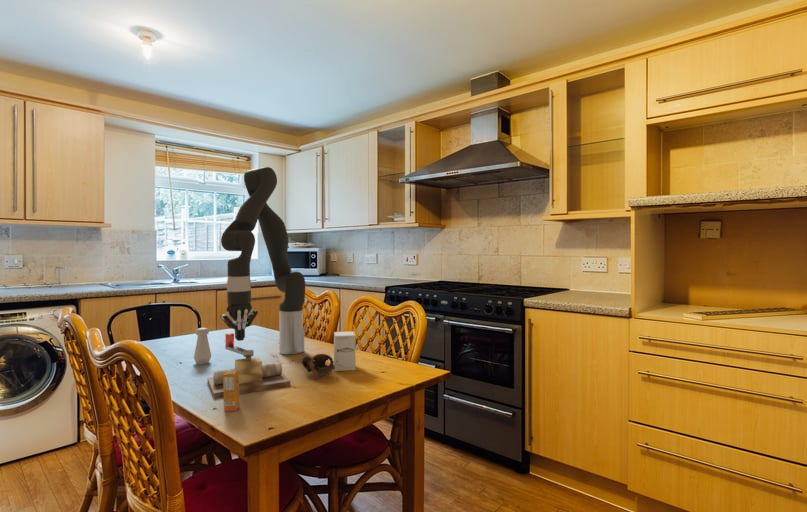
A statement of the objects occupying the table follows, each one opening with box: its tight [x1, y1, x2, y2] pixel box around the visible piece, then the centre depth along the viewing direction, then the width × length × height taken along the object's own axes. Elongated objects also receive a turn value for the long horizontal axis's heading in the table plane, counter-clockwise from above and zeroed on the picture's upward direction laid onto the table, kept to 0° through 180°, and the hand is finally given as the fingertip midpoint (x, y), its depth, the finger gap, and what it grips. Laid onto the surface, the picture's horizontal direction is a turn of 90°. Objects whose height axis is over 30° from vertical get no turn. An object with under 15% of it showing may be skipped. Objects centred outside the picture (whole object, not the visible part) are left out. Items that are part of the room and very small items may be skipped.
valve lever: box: [224, 332, 255, 358], centre depth 138 cm, size 15×3×5 cm, turn 49°
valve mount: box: [206, 356, 291, 399], centre depth 134 cm, size 22×16×9 cm
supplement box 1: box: [223, 371, 241, 412], centre depth 113 cm, size 3×4×10 cm
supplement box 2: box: [333, 331, 357, 372], centre depth 152 cm, size 7×7×13 cm
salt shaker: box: [193, 327, 212, 365], centre depth 157 cm, size 6×6×13 cm
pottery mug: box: [301, 353, 335, 381], centre depth 143 cm, size 12×10×8 cm
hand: (239, 340), depth 144 cm, fingers closed
